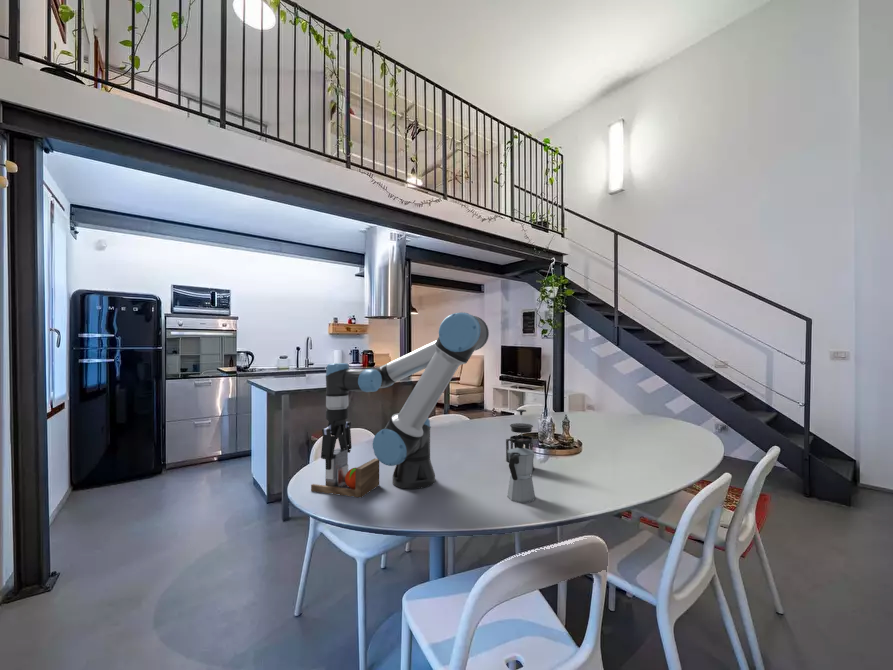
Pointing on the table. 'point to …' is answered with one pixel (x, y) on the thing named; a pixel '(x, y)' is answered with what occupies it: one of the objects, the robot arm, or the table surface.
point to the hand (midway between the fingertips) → (336, 474)
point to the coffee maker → (521, 474)
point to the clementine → (351, 478)
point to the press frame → (356, 481)
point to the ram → (339, 468)
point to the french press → (520, 429)
